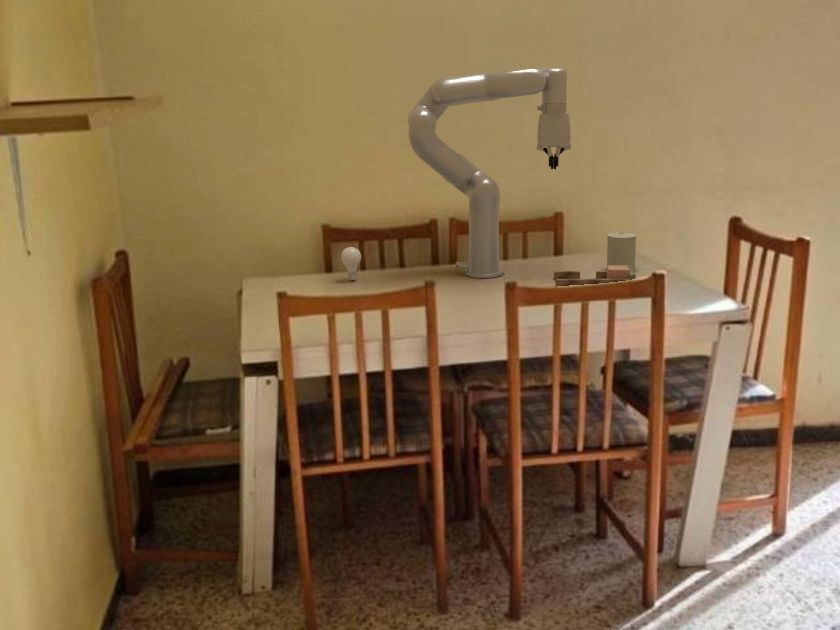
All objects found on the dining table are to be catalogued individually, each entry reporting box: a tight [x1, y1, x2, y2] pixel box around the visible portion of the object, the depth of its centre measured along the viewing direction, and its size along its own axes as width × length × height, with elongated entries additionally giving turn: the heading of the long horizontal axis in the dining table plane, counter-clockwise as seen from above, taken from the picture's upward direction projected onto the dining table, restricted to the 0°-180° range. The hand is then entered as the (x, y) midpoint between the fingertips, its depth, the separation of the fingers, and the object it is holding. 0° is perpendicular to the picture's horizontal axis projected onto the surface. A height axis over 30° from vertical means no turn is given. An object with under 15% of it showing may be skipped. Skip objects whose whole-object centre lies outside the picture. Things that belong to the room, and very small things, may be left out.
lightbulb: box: [340, 246, 362, 282], centre depth 284 cm, size 6×6×11 cm
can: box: [605, 231, 637, 272], centre depth 288 cm, size 9×9×12 cm
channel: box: [553, 266, 637, 288], centre depth 273 cm, size 24×12×4 cm, turn 84°
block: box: [606, 265, 629, 279], centre depth 272 cm, size 6×6×5 cm
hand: (553, 168), depth 282 cm, fingers closed
